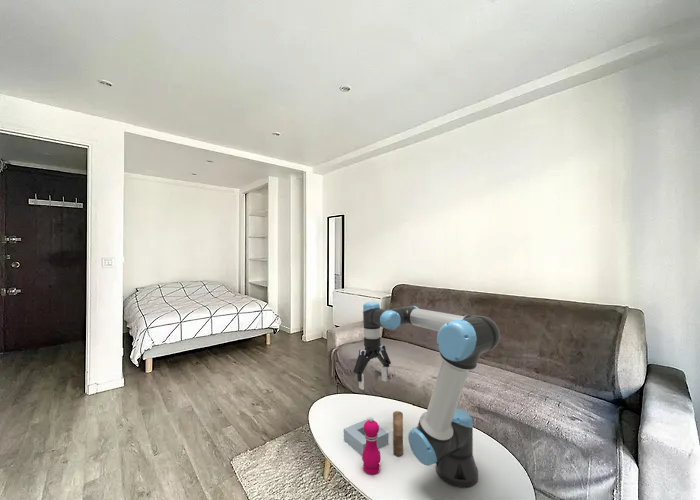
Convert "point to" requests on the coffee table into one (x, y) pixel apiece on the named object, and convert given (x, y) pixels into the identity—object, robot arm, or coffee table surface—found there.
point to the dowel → (398, 433)
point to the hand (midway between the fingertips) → (373, 384)
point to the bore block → (363, 437)
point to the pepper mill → (371, 448)
